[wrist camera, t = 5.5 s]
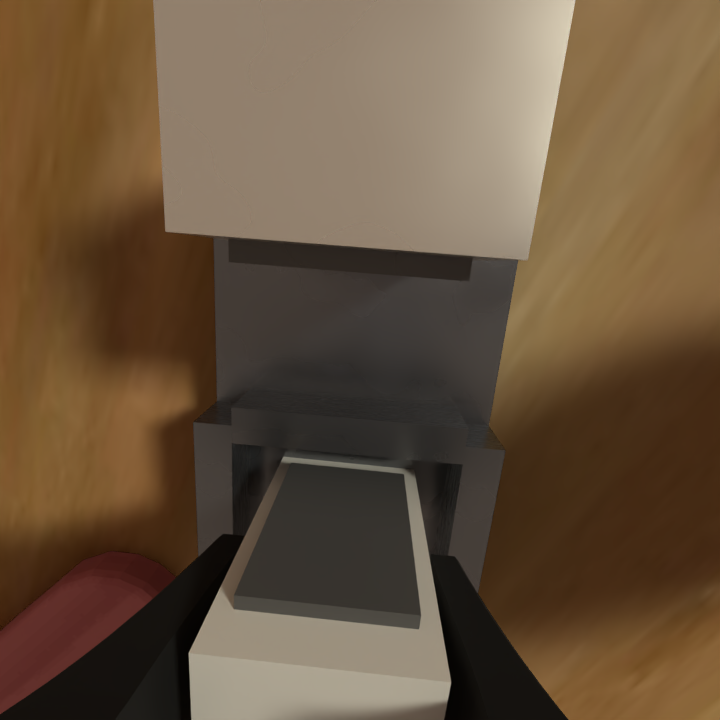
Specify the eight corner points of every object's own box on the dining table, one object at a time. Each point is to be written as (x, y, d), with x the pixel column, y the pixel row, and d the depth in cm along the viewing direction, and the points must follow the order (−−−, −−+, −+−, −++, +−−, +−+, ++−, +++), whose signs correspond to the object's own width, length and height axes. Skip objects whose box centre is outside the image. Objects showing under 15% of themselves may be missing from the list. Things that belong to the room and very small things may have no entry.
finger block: (399, 577, 13) (418, 850, 7) (279, 564, 13) (195, 823, 7) (415, 460, 11) (454, 667, 6) (283, 447, 12) (187, 637, 6)
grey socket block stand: (538, 26, 10) (997, -639, 3) (445, 590, 14) (514, 925, 7) (232, 7, 10) (-154, -667, 3) (236, 569, 15) (97, 875, 7)
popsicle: (-116, 738, 16) (91, 548, 13) (-74, 697, 18) (121, 518, 15) (-13, 805, 17) (204, 641, 14) (19, 761, 19) (221, 604, 16)
